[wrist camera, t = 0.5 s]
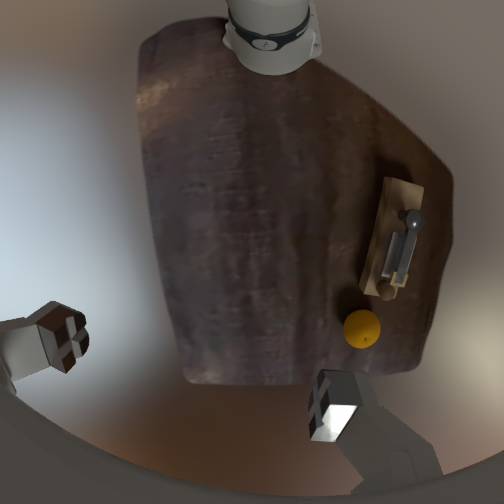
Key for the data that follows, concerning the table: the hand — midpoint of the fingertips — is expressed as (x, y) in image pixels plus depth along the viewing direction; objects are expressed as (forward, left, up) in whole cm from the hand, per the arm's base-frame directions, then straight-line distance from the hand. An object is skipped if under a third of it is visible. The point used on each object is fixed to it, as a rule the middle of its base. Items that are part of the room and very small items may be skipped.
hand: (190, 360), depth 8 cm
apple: (+21, +24, -43) cm, 54 cm away
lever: (+2, +25, -35) cm, 43 cm away
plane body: (+2, +25, -43) cm, 50 cm away
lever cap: (+4, +25, -39) cm, 46 cm away
